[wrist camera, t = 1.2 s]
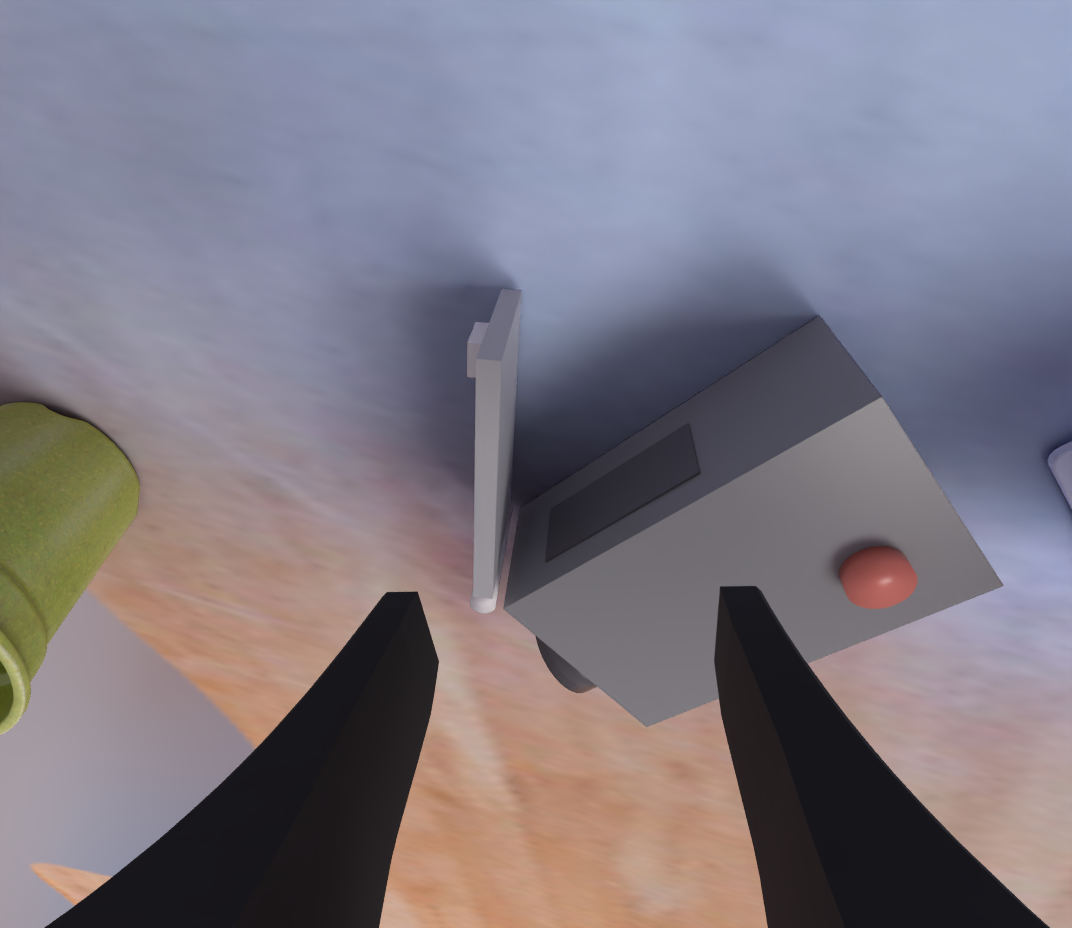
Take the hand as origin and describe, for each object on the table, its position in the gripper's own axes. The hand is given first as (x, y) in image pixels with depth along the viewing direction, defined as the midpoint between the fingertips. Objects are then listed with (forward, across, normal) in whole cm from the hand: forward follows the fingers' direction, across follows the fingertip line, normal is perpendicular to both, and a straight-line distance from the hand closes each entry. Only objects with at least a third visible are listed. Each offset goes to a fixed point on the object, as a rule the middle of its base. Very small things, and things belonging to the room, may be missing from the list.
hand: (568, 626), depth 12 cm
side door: (+10, +3, +1) cm, 11 cm away
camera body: (+10, -4, +5) cm, 12 cm away
